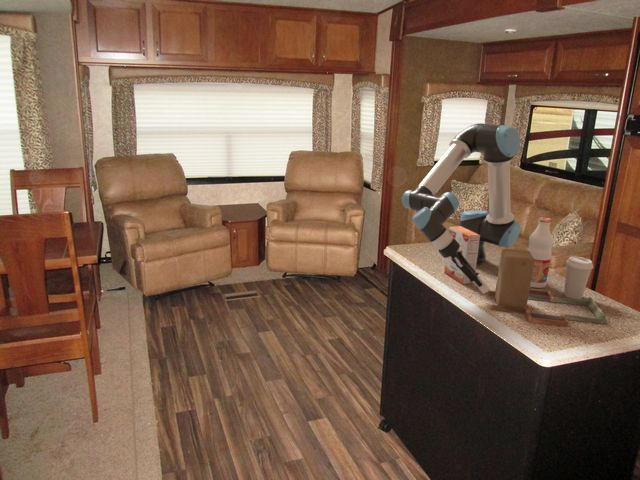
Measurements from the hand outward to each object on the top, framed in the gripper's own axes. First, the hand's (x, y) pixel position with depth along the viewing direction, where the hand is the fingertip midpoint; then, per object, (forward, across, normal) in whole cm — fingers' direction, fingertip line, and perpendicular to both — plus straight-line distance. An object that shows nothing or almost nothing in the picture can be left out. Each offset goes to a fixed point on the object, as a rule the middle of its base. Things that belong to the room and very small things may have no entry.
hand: (486, 291), depth 184 cm
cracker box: (-3, -22, -9) cm, 24 cm away
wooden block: (+9, 0, +3) cm, 10 cm away
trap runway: (+17, 0, +11) cm, 20 cm away
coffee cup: (+28, -16, +22) cm, 38 cm away
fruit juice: (+18, -25, +12) cm, 33 cm away
